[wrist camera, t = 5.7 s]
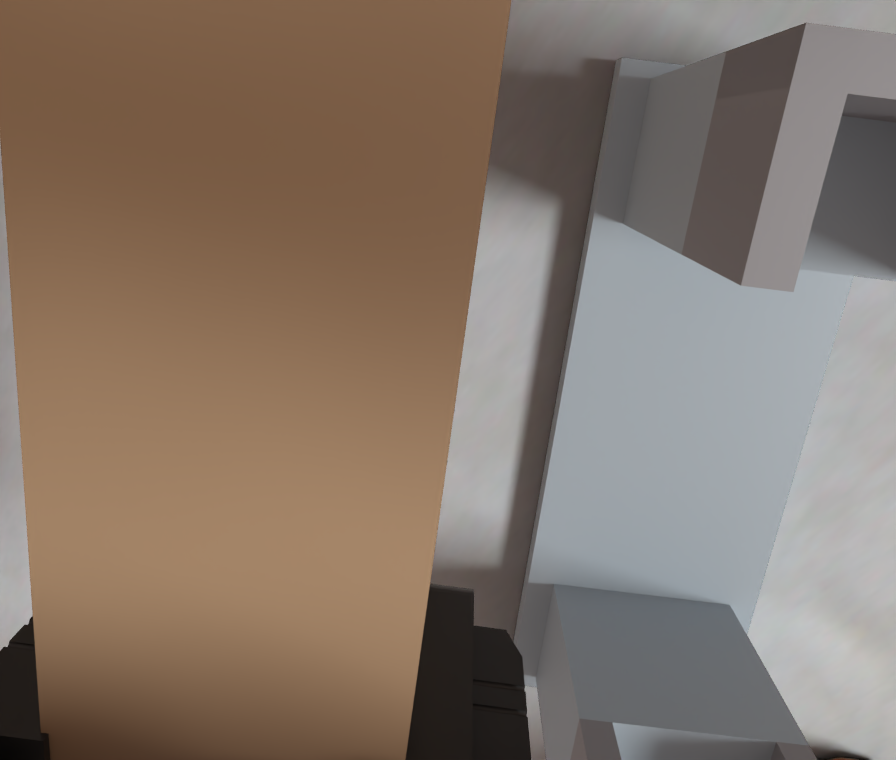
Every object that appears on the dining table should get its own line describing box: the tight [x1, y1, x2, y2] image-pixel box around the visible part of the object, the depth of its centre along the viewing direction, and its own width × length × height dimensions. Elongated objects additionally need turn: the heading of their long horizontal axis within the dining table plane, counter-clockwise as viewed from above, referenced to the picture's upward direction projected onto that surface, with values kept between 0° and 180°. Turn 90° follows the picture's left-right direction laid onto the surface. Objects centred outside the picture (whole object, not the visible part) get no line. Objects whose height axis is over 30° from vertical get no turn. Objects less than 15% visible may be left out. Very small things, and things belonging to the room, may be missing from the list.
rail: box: [0, 0, 511, 760], centre depth 9 cm, size 19×4×4 cm, turn 173°
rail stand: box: [513, 23, 896, 760], centre depth 21 cm, size 24×9×12 cm, turn 173°
